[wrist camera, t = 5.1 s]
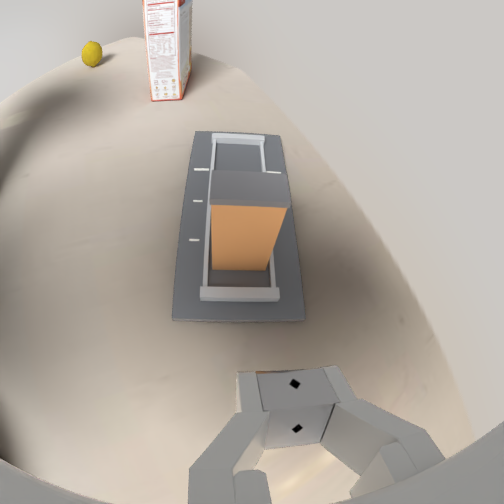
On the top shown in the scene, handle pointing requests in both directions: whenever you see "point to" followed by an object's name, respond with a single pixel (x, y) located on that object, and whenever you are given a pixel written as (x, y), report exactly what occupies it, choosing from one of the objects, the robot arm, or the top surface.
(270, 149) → the grey fader base
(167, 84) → the cracker box
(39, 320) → the top surface
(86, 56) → the lemon
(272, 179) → the fader cap
